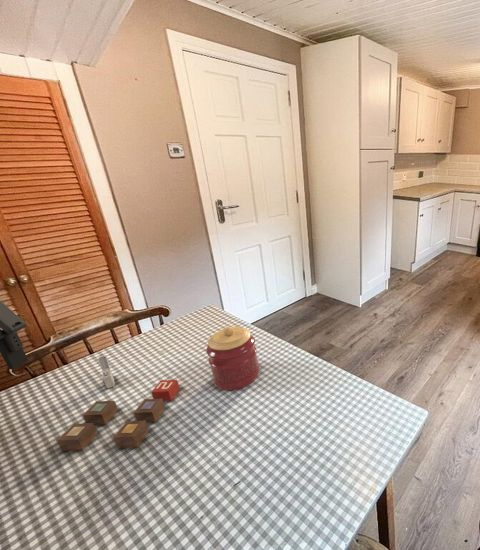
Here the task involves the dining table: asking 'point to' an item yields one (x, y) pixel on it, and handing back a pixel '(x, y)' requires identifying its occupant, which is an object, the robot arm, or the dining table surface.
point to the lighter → (106, 372)
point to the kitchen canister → (233, 358)
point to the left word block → (100, 412)
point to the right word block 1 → (131, 434)
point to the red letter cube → (166, 390)
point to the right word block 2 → (149, 410)
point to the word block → (77, 437)
